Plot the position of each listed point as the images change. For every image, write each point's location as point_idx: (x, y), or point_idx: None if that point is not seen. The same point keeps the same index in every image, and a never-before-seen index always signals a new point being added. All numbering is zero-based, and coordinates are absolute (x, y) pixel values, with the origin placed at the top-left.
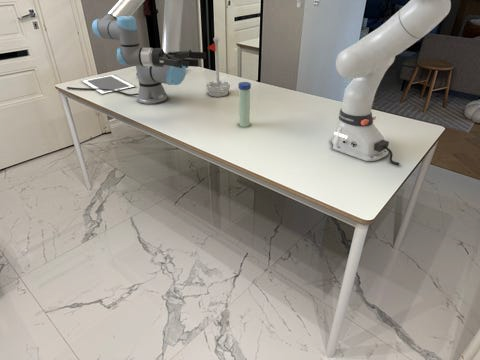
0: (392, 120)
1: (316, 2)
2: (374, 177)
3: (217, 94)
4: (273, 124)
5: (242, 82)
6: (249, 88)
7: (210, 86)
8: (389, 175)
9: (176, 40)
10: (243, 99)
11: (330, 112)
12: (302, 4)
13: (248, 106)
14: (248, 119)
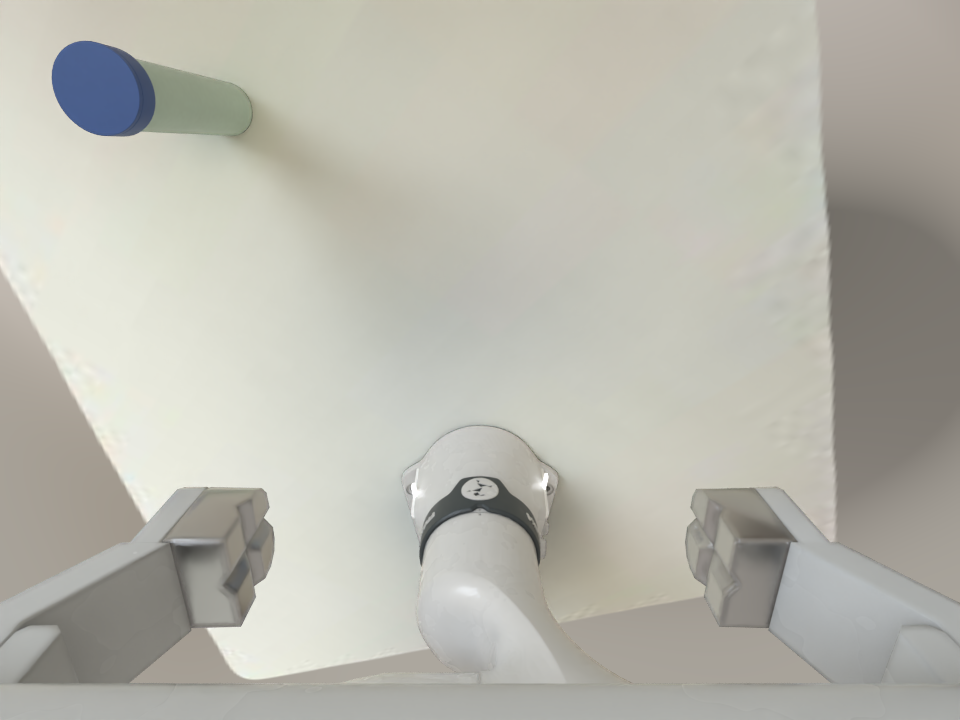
0: (778, 450)
1: (708, 582)
2: (379, 613)
3: None
4: (352, 191)
5: (92, 53)
6: (130, 135)
7: None
8: None
9: None
10: None
11: (670, 248)
12: (247, 594)
13: (188, 132)
14: (223, 134)
